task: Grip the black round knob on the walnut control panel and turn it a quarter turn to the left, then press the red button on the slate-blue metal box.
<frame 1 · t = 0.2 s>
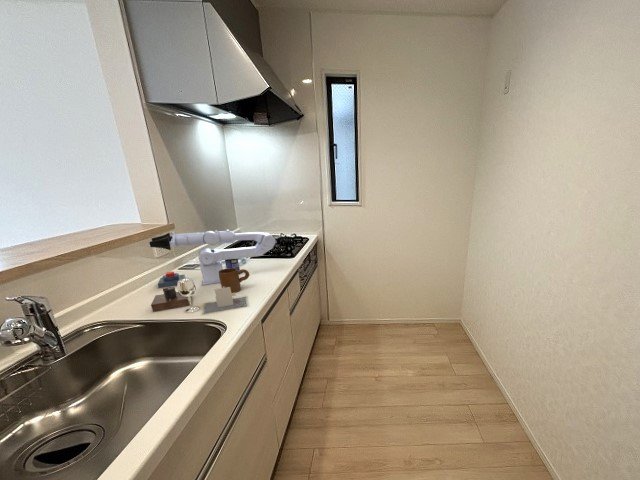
hand: (150, 242, 134), 22 cm above the worktop, tool horizontal, fingers open, 7 cm apart
panel: (173, 303, 126), on the worktop
button: (170, 274, 148), point 4 cm above the worktop, slide at 0.1 cm
wineglass: (192, 310, 120), on the worktop
mug: (237, 290, 140), on the worktop
button box: (172, 283, 150), on the worktop
architectural model: (226, 305, 124), on the worktop
knob: (169, 292, 124), point 5 cm above the worktop, hinge at 0.0°
pill bottle: (234, 273, 164), on the worktop
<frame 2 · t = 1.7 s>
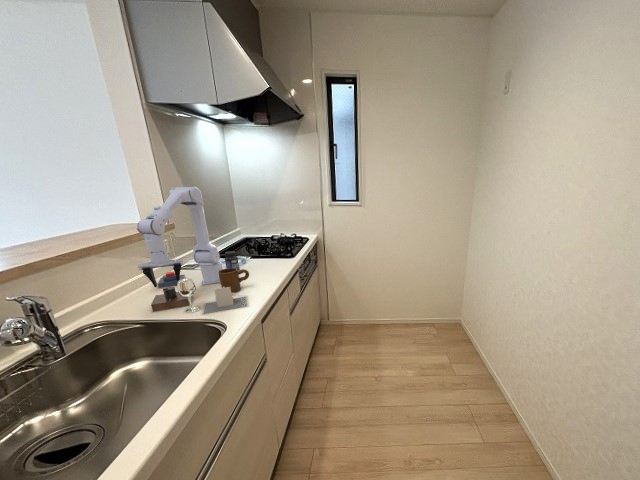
hand: (167, 284, 123), 8 cm above the worktop, tool pointing down, fingers open, 7 cm apart
nothing on the worktop moved.
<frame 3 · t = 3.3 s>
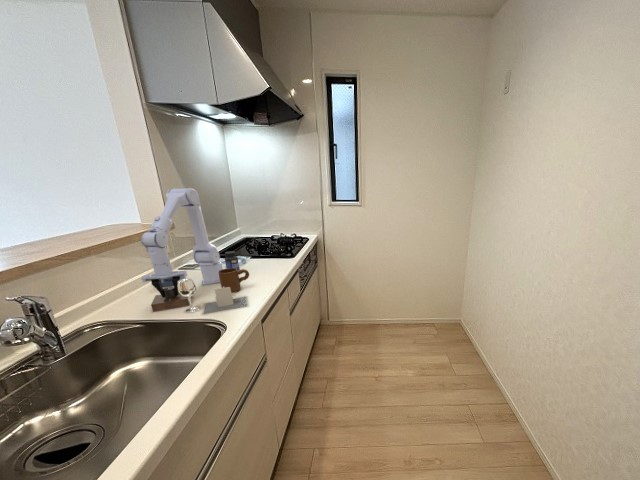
hand: (170, 295, 125), 4 cm above the worktop, tool pointing down, fingers closed on knob, 4 cm apart
knob: (169, 292, 124), point 5 cm above the worktop, hinge at 0.1°, touching gripper
everything else where it was.
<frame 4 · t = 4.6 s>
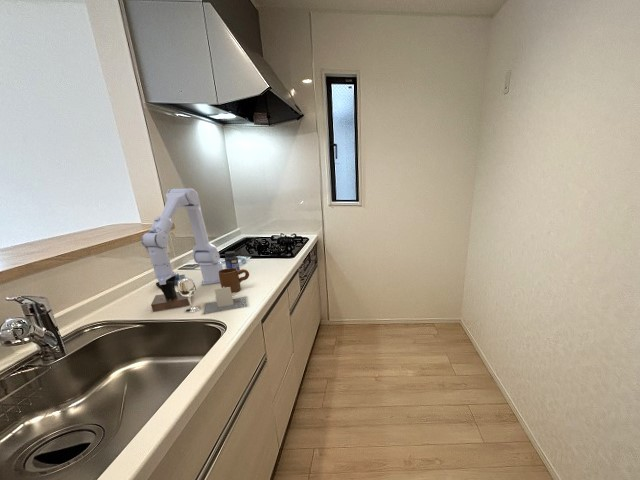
hand: (170, 296, 125), 3 cm above the worktop, tool pointing down, fingers closed on knob, 4 cm apart
knob: (169, 292, 124), point 5 cm above the worktop, hinge at 88.5°, touching gripper
everything else where it was.
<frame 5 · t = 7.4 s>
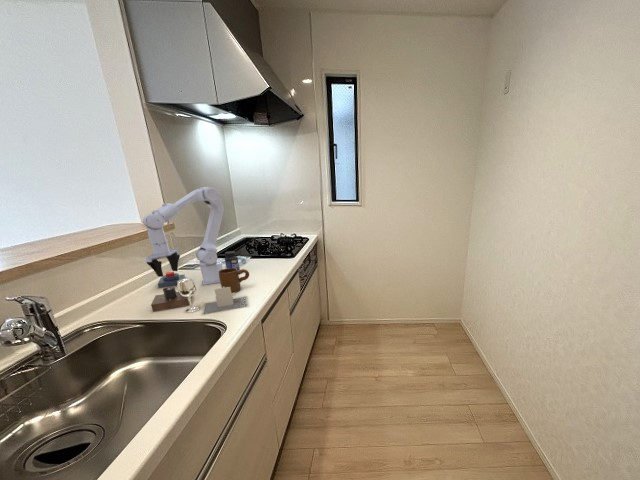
hand: (168, 273, 137), 8 cm above the worktop, tool pointing down, fingers open, 7 cm apart
knob: (169, 292, 124), point 5 cm above the worktop, hinge at 88.2°
everything else where it was.
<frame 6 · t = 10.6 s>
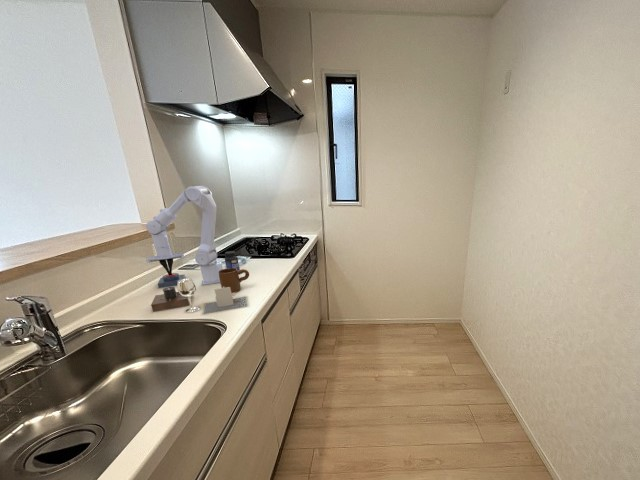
hand: (170, 274, 148), 4 cm above the worktop, tool pointing down, fingers closed, pressing on button
button: (170, 276, 148), point 3 cm above the worktop, slide at -0.9 cm, touching gripper
everything else where it was.
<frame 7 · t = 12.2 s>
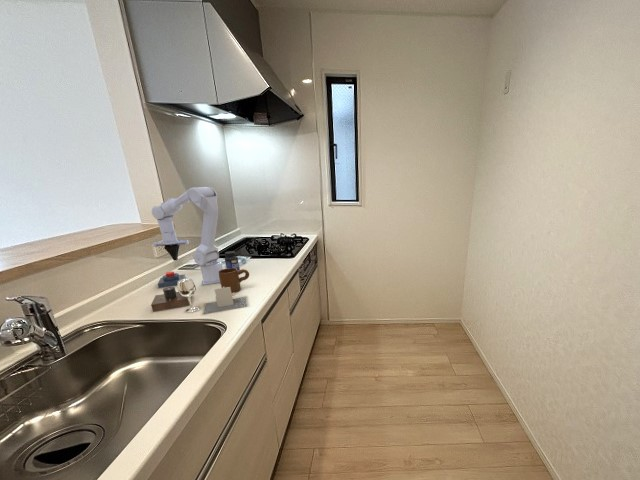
hand: (175, 260, 152), 10 cm above the worktop, tool pointing down, fingers closed
button: (170, 274, 148), point 4 cm above the worktop, slide at 0.1 cm
everything else where it was.
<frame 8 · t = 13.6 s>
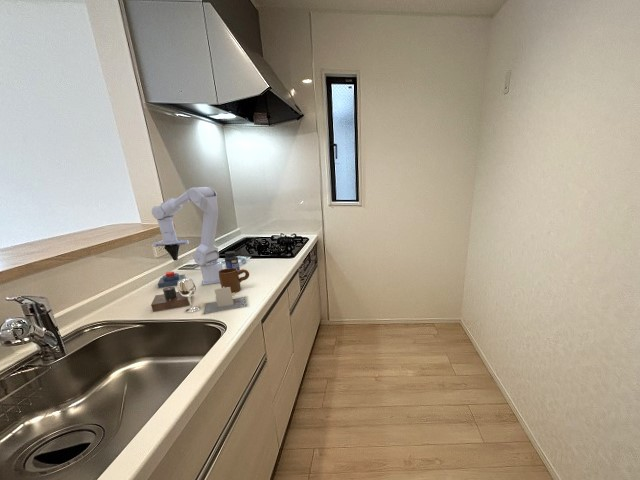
hand: (175, 259, 152), 10 cm above the worktop, tool pointing down, fingers closed
nothing on the worktop moved.
at the end: knob at +88° (first picture: +0°); button pushed in 1.2 cm at the most during the clip, back to where it started at the end; button slide at 0.1 cm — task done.
